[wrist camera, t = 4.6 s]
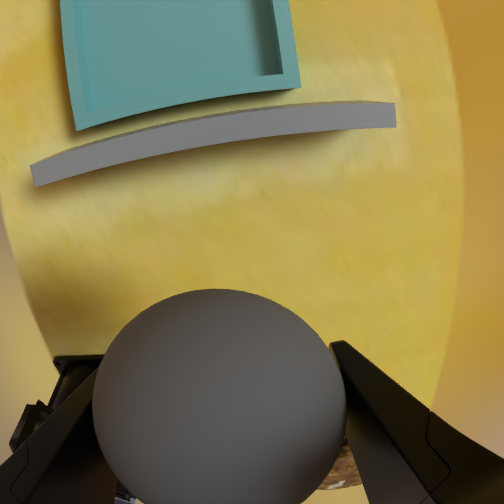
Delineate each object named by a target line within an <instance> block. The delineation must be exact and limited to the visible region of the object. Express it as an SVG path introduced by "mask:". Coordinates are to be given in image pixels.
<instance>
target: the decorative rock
mask: <svg viewBox="0 0 504 504" xmlns="http://www.w3.org/2000/svg"><path fill="white" fill-rule="evenodd" d="M360 484H363V483H362V480H361V478H360V475H359V472H358V469H357V466H356V463H355V460H354V457H353V455H352V452H351V449H350V446H349V443H348V444H347V445H346V446H345V447H344V446H343V447H342V448H341V451H340V453H339V455H338V458H337V460H336V462H335V464H334V466H333V468H332V469H331V471H330V472H329V474H328V475H327V477H326V478H325V480H324V481H323V482H322V484H321V485H320V486H319V487H318V488H317V489H321V490H331V489H340V488H346V487H350V486H355V485H360Z"/></svg>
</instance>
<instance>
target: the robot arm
mask: <svg viewBox="0 0 504 504" xmlns="http://www.w3.org/2000/svg"><path fill="white" fill-rule="evenodd" d="M329 351H330V352H331V353H332V356H333V358H334V360H335V362H336V364H337V367H338V369H339V371H340V373H341V376H342V380H343V384H344V388H345V393H346V399H347V422H346V432H345V435H346V438H347V440H348V443H349V446H350V449H351V452H352V455H353V457H354V460H355V463H356V466H357V469H358V472H359V475H360V478H361V480H362V483H363V486H364V489H365V492H366V495H367V498H368V501H369V504H504V459H503V458H502V457H500V456H498V455H496V454H495V453H493V452H491V451H490V450H488V449H486V448H485V447H483V446H481V445H479V444H478V443H476V442H475V441H473V440H471V439H470V438H468V437H467V436H465V435H464V434H462V433H460V432H459V431H457V430H456V429H454V428H453V427H452V426H450V425H449V424H448V423H446V422H445V421H444V420H442V419H441V418H440V417H439V416H437V415H436V414H435V413H434V412H432V411H431V412H430V409H429V408H427V407H426V406H425V405H424V404H422V403H421V402H420V401H419V400H417V399H416V398H415V397H414V396H412V395H411V394H410V393H409V392H407V391H406V390H405V389H404V388H402V387H401V386H400V385H399V384H398V383H396V382H395V381H394V380H393V379H391V378H390V377H389V376H388V375H386V374H385V373H384V372H383V371H382V370H380V369H379V368H378V367H377V366H375V365H374V364H373V363H372V362H370V361H369V360H368V359H367V358H366V357H364V356H363V355H362V354H361V353H359V352H358V351H357V350H356V349H355V348H353V347H352V346H351V345H350V344H348V343H347V342H346V341H344V340H340V341H335V342H331V343H330V344H329ZM104 356H105V355H104ZM104 356H76V357H55V359H54V361H53V363H54V365H55V367H56V368H57V370H58V371H59V373H60V374H61V375H60V377H59V380H58V382H57V385H56V387H55V389H54V391H53V394H52V396H51V398H50V401H49V403H48V406H46V405H45V404H44V403H43V402H41V401H40V400H38V401H37V403H36V405H29V404H27V405H26V407H25V409H24V412H23V414H22V416H21V419H20V421H19V423H18V425H17V427H16V429H15V431H14V433H13V435H12V437H11V440H10V442H9V446H10V448H11V451H12V453H13V454H12V455H11V456H10V457H9V458H8V459H7V460H6V461H5V462H4V463H3V464H2V465H0V504H134V503H135V500H136V497H135V496H134V495H133V494H132V493H131V492H130V491H129V490H128V489H127V488H126V487H125V486H124V485H123V484H122V483H121V482H120V481H119V480H118V478H117V477H116V475H115V474H114V472H113V471H112V470H111V468H110V467H109V465H108V463H107V461H106V459H105V457H104V455H103V453H102V451H101V449H100V446H99V443H98V439H97V436H96V432H95V428H94V421H93V409H92V401H93V389H94V385H95V380H96V376H97V373H98V369H99V366H100V364H101V362H102V360H103V358H104Z"/></svg>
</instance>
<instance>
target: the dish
mask: <svg viewBox="0 0 504 504" xmlns="http://www.w3.org/2000/svg"><path fill="white" fill-rule="evenodd" d="M60 8H61V24H62V37H63V47H64V56H65V64H66V72H67V79H68V86H69V93H70V99H71V105H72V110H73V116H74V121H75V126H76V131H79V130H83V129H86V128H90V127H93V126H96V125H99V124H103V123H106V122H110V121H113V120H117V119H120V118H124V117H128V116H132V115H136V114H140V113H144V112H148V111H152V110H157V109H161V108H165V107H170V106H175V105H180V104H185V103H190V102H195V101H201V100H207V99H212V98H219V97H225V96H232V95H239V94H246V93H255V92H263V91H273V90H283V89H295V88H301V84H300V76H299V68H298V61H297V54H296V47H295V40H294V33H293V27H292V20H291V14H290V8H289V2H288V0H60Z"/></svg>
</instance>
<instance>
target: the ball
mask: <svg viewBox="0 0 504 504" xmlns="http://www.w3.org/2000/svg"><path fill="white" fill-rule="evenodd" d="M92 409H93V421H94V428H95V432H96V436H97V439H98V443H99V446H100V449H101V451H102V453H103V455H104V457H105V459H106V461H107V463H108V465H109V467H110V468H111V470H112V471H113V472H114V474H115V475H116V477H117V478H118V480H119V481H120V482H121V483H122V484H123V485H124V486H125V487H126V488H127V489H128V490H129V491H130V492H131V493H132V494H133V495H134V496H135V497H136V498H137V499H138V500H140V501H141V502H142V503H144V504H301V503H302V502H303V501H305V500H306V499H307V498H308V497H309V496H310V495H311V494H312V493H313V492H314V491H315V490H316V489H317V488H318V487H319V486H320V485H321V484H322V482H323V481H324V480H325V478H326V477H327V475H328V474H329V472H330V471H331V469H332V468H333V466H334V464H335V462H336V460H337V458H338V455H339V453H340V450H341V447H342V444H343V440H344V436H345V432H346V422H347V399H346V393H345V388H344V384H343V380H342V376H341V373H340V371H339V369H338V367H337V364H336V362H335V360H334V358H333V356H332V353H331V352H330V351H329V349H328V348H327V346H326V345H325V343H324V342H323V341H322V339H321V338H320V337H319V335H318V334H317V333H316V332H315V331H314V330H313V329H312V328H311V327H310V326H309V325H308V324H307V323H306V322H305V321H304V320H302V319H301V318H300V317H299V316H297V315H296V314H295V313H293V312H292V311H290V310H289V309H287V308H285V307H283V306H281V305H279V304H278V303H276V302H274V301H272V300H270V299H267V298H264V297H262V296H259V295H256V294H252V293H248V292H244V291H237V290H230V289H204V290H195V291H190V292H185V293H181V294H178V295H175V296H171V297H169V298H167V299H165V300H162V301H160V302H158V303H156V304H154V305H152V306H150V307H149V308H147V309H146V310H144V311H142V312H141V313H140V314H139V315H137V316H136V317H135V318H134V319H133V320H132V321H130V322H129V323H128V324H127V325H126V326H125V327H124V328H123V329H122V330H121V331H120V333H119V334H118V335H117V336H116V338H115V339H114V340H113V342H112V343H111V344H110V346H109V348H108V350H107V352H106V354H105V356H104V358H103V360H102V362H101V364H100V366H99V369H98V373H97V376H96V380H95V385H94V389H93V401H92Z"/></svg>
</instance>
